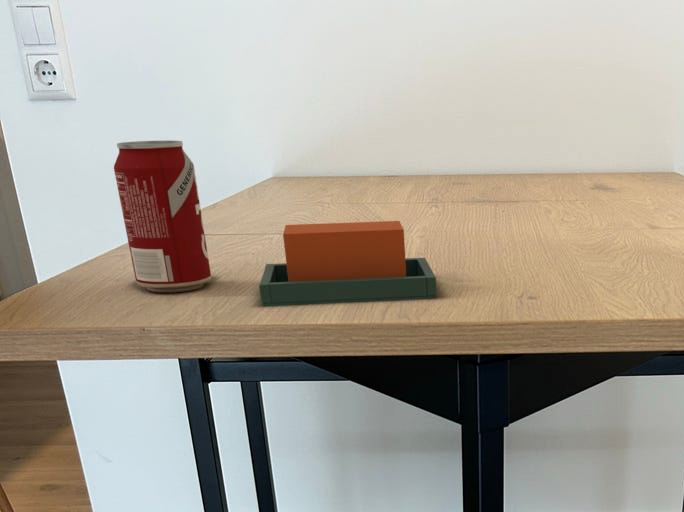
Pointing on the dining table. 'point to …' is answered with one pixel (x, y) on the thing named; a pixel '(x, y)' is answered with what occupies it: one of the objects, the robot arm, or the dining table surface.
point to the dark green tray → (347, 287)
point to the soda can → (162, 216)
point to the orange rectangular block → (344, 251)
